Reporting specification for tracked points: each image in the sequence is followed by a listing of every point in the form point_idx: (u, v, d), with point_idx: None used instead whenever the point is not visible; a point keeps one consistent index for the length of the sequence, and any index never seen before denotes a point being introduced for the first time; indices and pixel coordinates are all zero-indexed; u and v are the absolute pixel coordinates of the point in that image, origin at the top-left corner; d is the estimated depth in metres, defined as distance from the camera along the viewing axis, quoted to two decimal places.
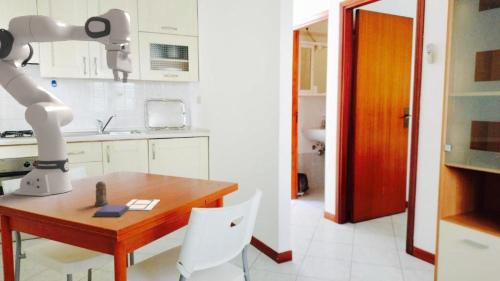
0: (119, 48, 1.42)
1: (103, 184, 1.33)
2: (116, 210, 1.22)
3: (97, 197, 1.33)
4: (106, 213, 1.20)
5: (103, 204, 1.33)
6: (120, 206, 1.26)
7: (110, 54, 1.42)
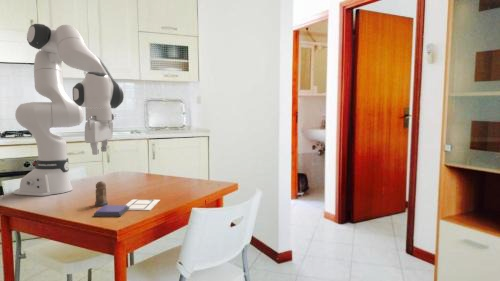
0: None
1: (103, 184, 1.33)
2: (116, 210, 1.22)
3: (97, 197, 1.33)
4: (106, 213, 1.20)
5: (103, 204, 1.33)
6: (120, 206, 1.26)
7: None
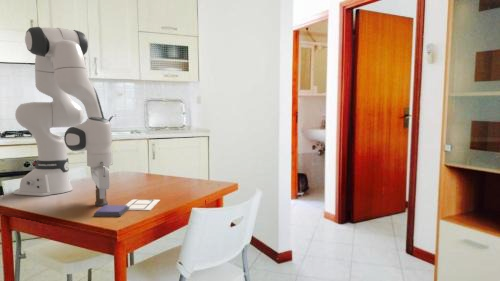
0: None
1: None
2: (116, 210, 1.22)
3: (97, 197, 1.33)
4: (106, 213, 1.20)
5: (103, 204, 1.33)
6: (120, 206, 1.26)
7: None
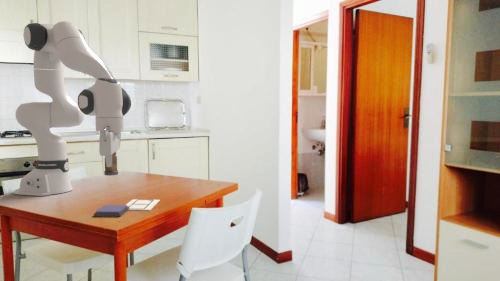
0: None
1: None
2: (116, 210, 1.22)
3: None
4: (106, 213, 1.20)
5: (111, 173, 1.21)
6: (120, 206, 1.26)
7: None
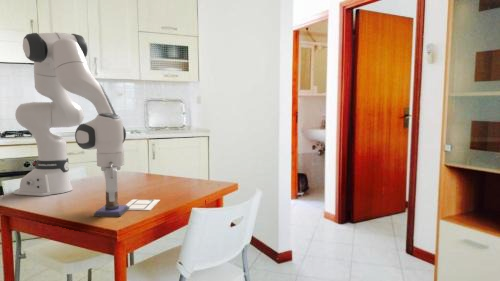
0: None
1: None
2: (116, 210, 1.22)
3: (107, 199, 1.23)
4: (106, 213, 1.20)
5: (113, 207, 1.23)
6: (120, 206, 1.26)
7: None
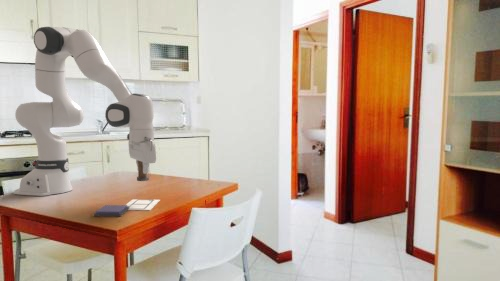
0: None
1: None
2: (116, 210, 1.22)
3: (139, 172, 1.35)
4: (106, 213, 1.20)
5: (146, 179, 1.35)
6: (120, 206, 1.26)
7: None
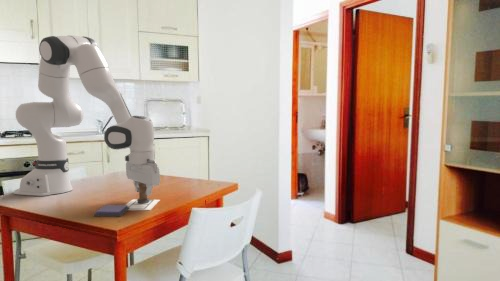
0: None
1: None
2: (116, 210, 1.22)
3: (141, 194, 1.36)
4: (106, 213, 1.20)
5: (147, 201, 1.36)
6: (120, 206, 1.26)
7: None
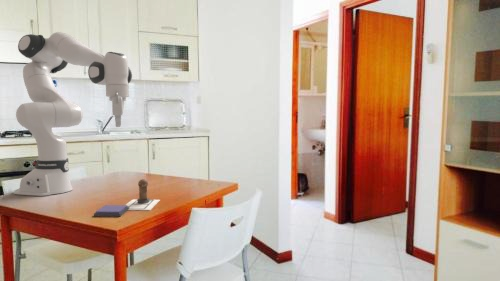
0: None
1: (146, 182, 1.36)
2: (116, 210, 1.22)
3: (141, 194, 1.36)
4: (106, 213, 1.20)
5: (147, 201, 1.36)
6: (120, 206, 1.26)
7: None
